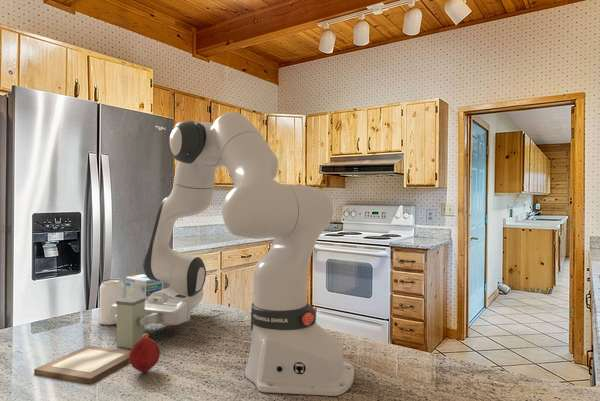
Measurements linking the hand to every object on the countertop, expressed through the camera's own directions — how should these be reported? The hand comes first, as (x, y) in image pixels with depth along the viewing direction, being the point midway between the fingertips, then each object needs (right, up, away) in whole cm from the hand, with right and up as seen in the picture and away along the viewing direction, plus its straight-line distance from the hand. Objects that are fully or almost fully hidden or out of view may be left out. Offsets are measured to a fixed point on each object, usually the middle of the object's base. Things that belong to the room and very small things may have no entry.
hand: (128, 320), depth 98 cm
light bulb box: (-8, -6, +30) cm, 32 cm away
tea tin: (0, -6, +1) cm, 6 cm away
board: (-4, -6, -12) cm, 14 cm away
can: (-12, -6, +18) cm, 23 cm away
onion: (+10, -6, -15) cm, 19 cm away
